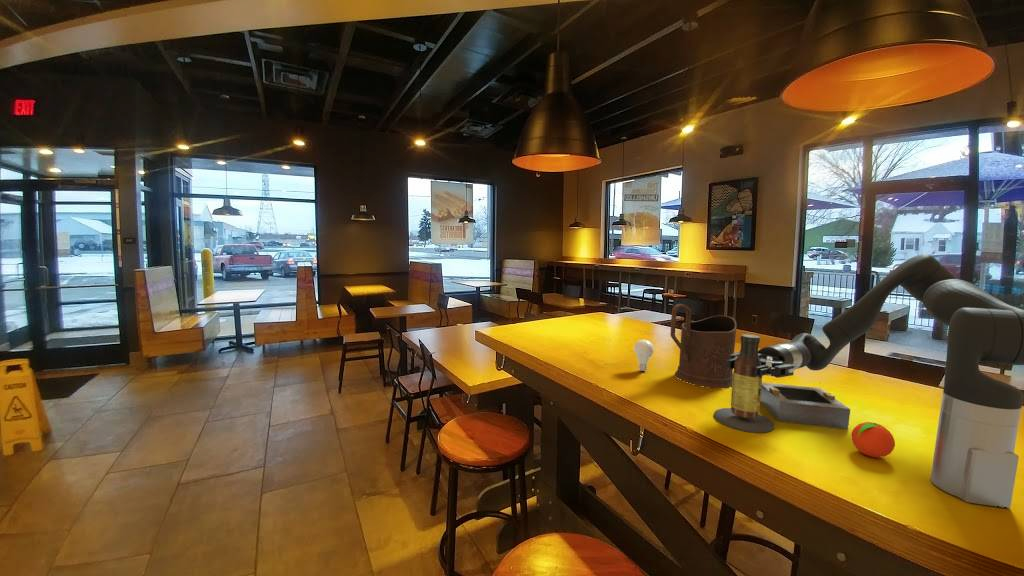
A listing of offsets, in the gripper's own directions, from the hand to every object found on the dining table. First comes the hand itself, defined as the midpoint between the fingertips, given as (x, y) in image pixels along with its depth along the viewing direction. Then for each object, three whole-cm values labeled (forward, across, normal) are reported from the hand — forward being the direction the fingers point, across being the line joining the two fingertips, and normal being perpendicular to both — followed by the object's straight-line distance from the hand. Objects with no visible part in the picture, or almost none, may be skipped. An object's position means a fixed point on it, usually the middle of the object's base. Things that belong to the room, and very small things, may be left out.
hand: (742, 368), depth 100 cm
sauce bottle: (-2, 0, +12) cm, 13 cm away
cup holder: (-21, -26, +14) cm, 36 cm away
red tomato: (-9, +23, +14) cm, 28 cm away
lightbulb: (-11, -40, +14) cm, 43 cm away
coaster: (-2, 0, +14) cm, 14 cm away
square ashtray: (-21, +4, +14) cm, 25 cm away
